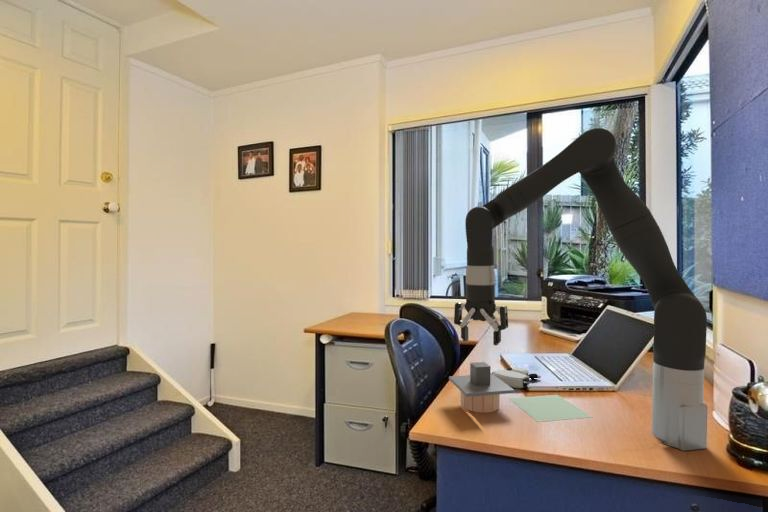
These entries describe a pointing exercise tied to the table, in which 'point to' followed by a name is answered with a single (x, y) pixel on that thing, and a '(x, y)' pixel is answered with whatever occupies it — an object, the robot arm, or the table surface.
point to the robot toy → (515, 377)
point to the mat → (549, 408)
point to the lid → (480, 382)
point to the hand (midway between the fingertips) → (480, 342)
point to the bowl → (480, 403)
